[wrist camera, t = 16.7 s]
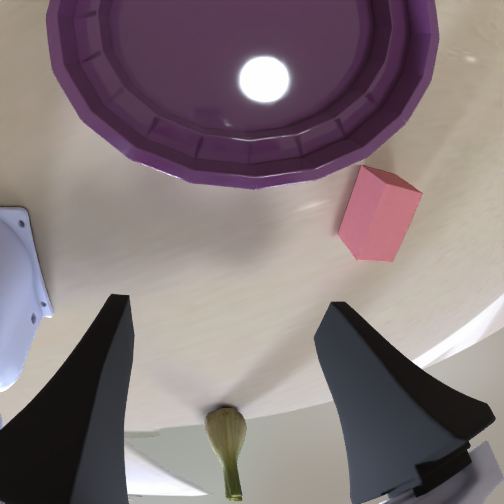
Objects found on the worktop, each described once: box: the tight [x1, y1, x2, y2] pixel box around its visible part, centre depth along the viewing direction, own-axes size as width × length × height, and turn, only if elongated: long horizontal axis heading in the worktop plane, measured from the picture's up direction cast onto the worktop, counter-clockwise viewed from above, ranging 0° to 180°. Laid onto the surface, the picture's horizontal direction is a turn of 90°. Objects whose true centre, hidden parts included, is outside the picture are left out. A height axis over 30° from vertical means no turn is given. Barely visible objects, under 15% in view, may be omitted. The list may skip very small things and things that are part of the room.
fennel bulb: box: [205, 408, 247, 501], centre depth 27 cm, size 6×5×12 cm
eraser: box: [338, 165, 423, 262], centre depth 17 cm, size 5×3×3 cm, turn 169°
